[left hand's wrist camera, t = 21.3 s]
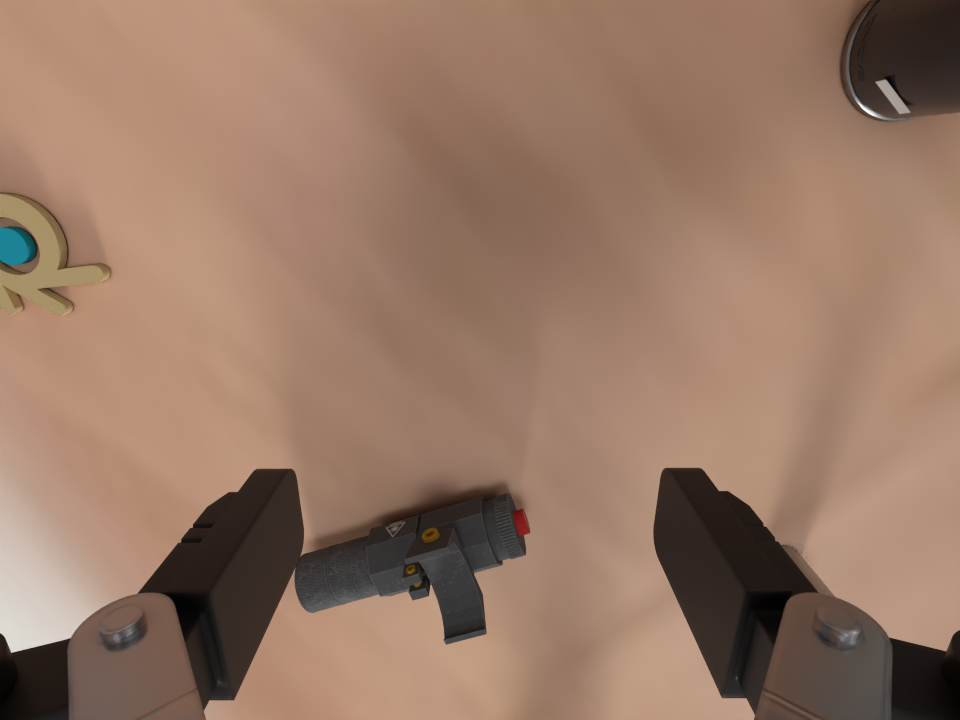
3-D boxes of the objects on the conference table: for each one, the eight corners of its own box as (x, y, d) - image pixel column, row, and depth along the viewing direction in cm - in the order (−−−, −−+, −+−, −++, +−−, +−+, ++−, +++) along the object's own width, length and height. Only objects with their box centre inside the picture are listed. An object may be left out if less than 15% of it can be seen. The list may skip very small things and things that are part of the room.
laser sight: (298, 523, 53) (259, 600, 44) (508, 461, 51) (515, 527, 41) (338, 594, 56) (310, 680, 47) (537, 539, 54) (550, 617, 44)
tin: (750, 566, 55) (798, 637, 47) (779, 538, 54) (834, 607, 46) (779, 584, 56) (831, 657, 48) (808, 557, 55) (868, 628, 47)
